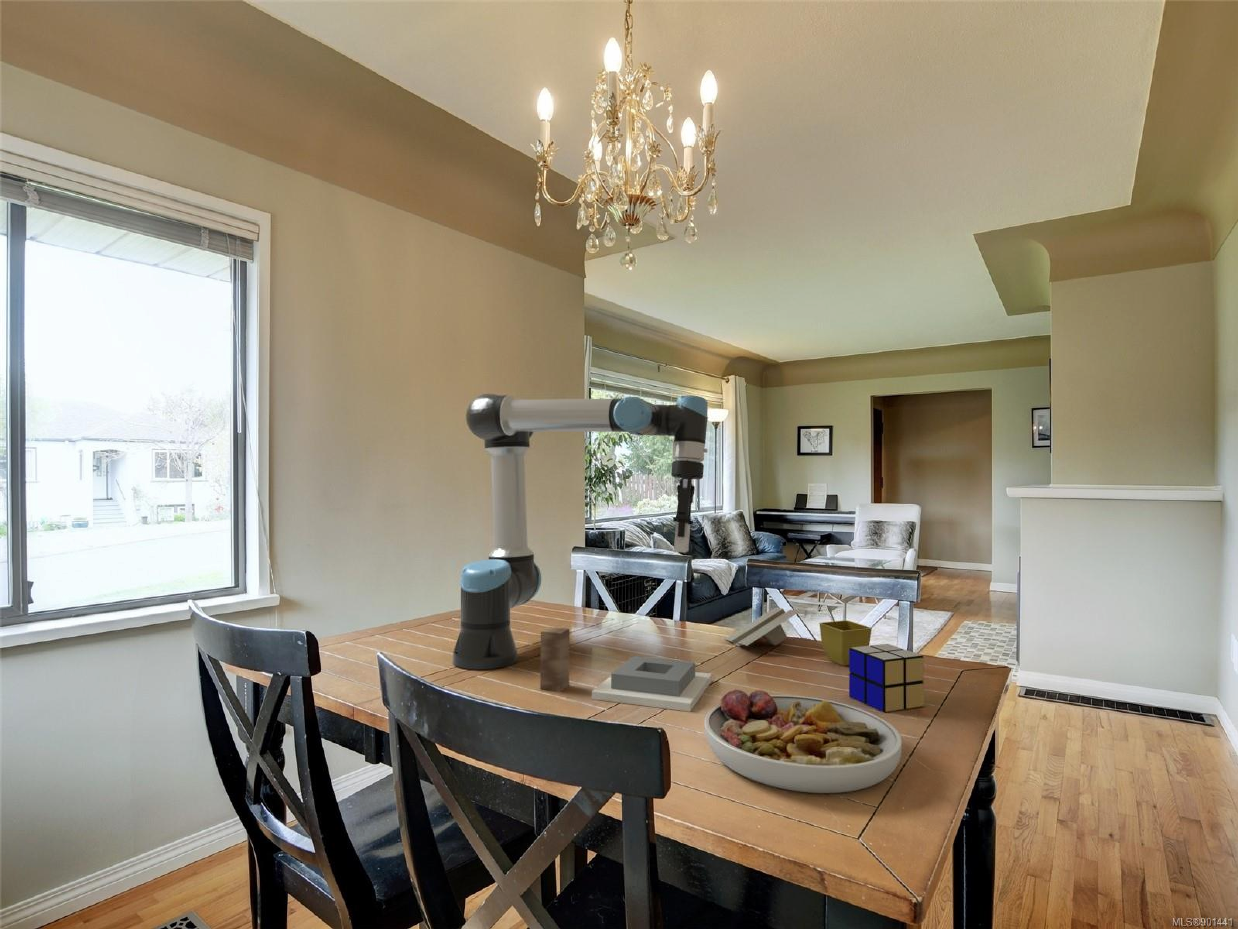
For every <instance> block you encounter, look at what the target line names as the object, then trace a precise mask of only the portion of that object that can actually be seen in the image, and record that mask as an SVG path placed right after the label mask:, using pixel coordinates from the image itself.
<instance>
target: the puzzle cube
mask: <svg viewBox="0 0 1238 929" xmlns="http://www.w3.org/2000/svg"><path fill="white" fill-rule="evenodd" d="M924 662H925V657H924V656H923V655H922V654H920V653H916V652H914V651H911V650H908V649H904V648H901V647H899V646H896V645H892V644H889V643H881V644H871V645H869V646H861V647H852V648H850V649H849V665H848V671H849V674H848V677H849V678H848V681H849V682H848V691H849V692H848V694H849V695H848V697H850V698H852V699H854V700H856V701H858V702H860V703H862V704H864V705H867V706H869V707H870V708H873V709H875V710H877V711H880V712H882V713H883V714H886V713H893V712H898V711H904V710H911V709H918V708H923V707H925V682H924V680H925V679H924V678H925V677H924V671H925V664H924Z"/></svg>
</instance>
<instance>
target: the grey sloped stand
mask: <svg viewBox="0 0 1238 929" xmlns="http://www.w3.org/2000/svg"><path fill="white" fill-rule="evenodd" d="M800 612H801V610H796V609H789V610H787V611H785V610H784V608H782V607H774V608H773V609H771V610H769V611H768V612H766V613H764V614H762V615H761V616H759V617H757V618H756V619H755V620H753V621H751V622H750V623H748V624H746V625H745V626H743V627H741V628H740V629H738V630H739V631H738V630H736V631H735V632H733V633H731V634H729V635H728V636H726V637H725V638H724V640H725V641H728V642H731V643H732V644H733V645H735V646H737V647H741V646H746V647H748V646H749V645H750V644H753V643H754V642H755V641H756V640H759V639H760V638H762V639H763V640H764V641H766V642H767V643H768V644H769V645H771V646H777V645H778V644H780V643H781V642H783V641H785V640H786V639H788V636H787V634H786V632H785V630H784V628H783V626H782V624H783V623H784V622H786V621H788V620H789V619H791V618H793V617H794V616H795V615H797V614H799V613H800Z"/></svg>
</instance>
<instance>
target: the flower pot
mask: <svg viewBox="0 0 1238 929" xmlns="http://www.w3.org/2000/svg"><path fill="white" fill-rule="evenodd" d="M819 632H820V639H821V645H822V648H823V651H824V653H825V654H826V656H827V658H828V660H829V661H831V662H834V663H836V664H838V665H840V666H843V667H845V666H849V649H850V648H852V647H861V646H870V644H871V643H870V642H871V638H872V637H871V635H872V627H870V626H867V625H864V624H860V623H857V622H854V621H851V620H835V621H825V622H824V621H822V622H819Z"/></svg>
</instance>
